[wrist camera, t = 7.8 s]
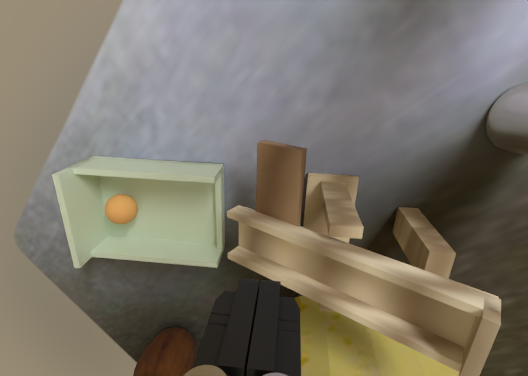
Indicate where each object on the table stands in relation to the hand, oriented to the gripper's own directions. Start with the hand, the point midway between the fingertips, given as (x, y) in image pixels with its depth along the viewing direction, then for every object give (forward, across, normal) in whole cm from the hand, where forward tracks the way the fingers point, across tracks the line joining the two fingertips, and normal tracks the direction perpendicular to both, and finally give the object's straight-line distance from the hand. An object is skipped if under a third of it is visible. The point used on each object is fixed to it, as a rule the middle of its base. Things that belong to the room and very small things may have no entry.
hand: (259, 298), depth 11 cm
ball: (+19, +17, +7) cm, 26 cm away
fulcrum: (+21, -8, +7) cm, 24 cm away
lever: (+12, -5, +4) cm, 14 cm away
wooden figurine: (+21, +13, +27) cm, 36 cm away
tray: (+21, +13, +7) cm, 26 cm away
